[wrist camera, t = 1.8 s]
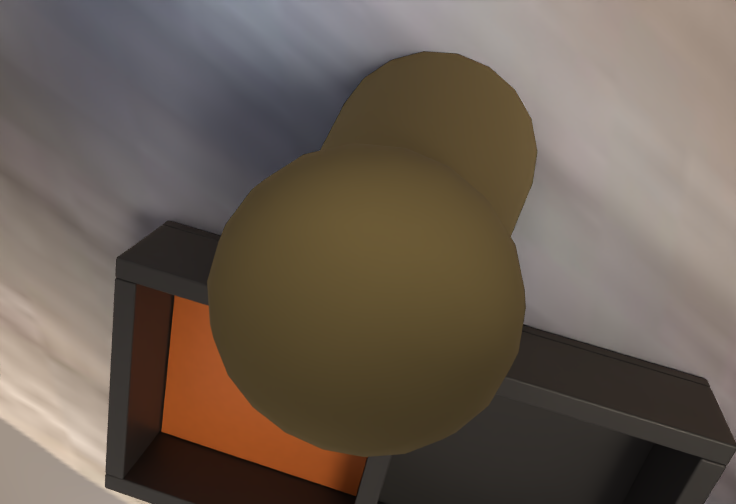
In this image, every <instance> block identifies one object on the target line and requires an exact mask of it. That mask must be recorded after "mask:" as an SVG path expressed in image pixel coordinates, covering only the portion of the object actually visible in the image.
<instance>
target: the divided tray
mask: <svg viewBox="0 0 736 504" xmlns="http://www.w3.org/2000/svg"><path fill="white" fill-rule="evenodd" d="M220 237H221V236H219V235H216V234H212V233H209V232H206V231H202V230H199V229H196V228H192V227H189V226H185V225H182V224H179V223H175V222H172V221H167V222H165V223H164V224H163V225H162V226H160V227H159V228H158V229H156V230H155V231H153V232H152V233H151V234H149V235H148V236H146V237H145V238H144V239H142V240H141V241H139V242H138V243H137V244H135V245H134V246H132V247H131V248H130V249H128V250H127V251H125V252H124V253H123V254H121V255H120V256H118V257H117V259H116V279H115V293H114V313H113V333H112V353H111V373H110V393H109V413H108V433H107V453H106V475H105V487H106V488H108V489H111V490H114V491H116V492H119V493H122V494H125V495H128V496H131V497H134V498H137V499H140V500H143V501H146V502H148V503H151V504H704V502H705V501H706V499H707V498H708V496H709V494H710V493H711V491H712V489H713V488H714V486H715V484H716V483H717V481H718V480H719V478H720V476H721V475H722V473H723V471H724V470H725V468H726V465H727V464H728V463H729V461H730V460H731V458H732V456H733V455H734V453H735V451H736V442H735V440H734V438H733V435H732V433H731V431H730V429H729V427H728V425H727V423H726V420H725V418H724V416H723V414H722V412H721V410H720V407H719V405H718V403H717V401H716V399H715V397H714V394H713V392H712V390H711V388H710V385H709V383H708V381H707V380H706V379H703V378H699V377H696V376H692V375H689V374H686V373H682V372H679V371H676V370H672V369H669V368H665V367H662V366H659V365H655V364H652V363H648V362H645V361H642V360H638V359H635V358H632V357H628V356H625V355H621V354H618V353H615V352H611V351H608V350H605V349H601V348H598V347H594V346H591V345H588V344H584V343H581V342H577V341H574V340H571V339H567V338H564V337H561V336H557V335H554V334H550V333H547V332H544V331H540V330H537V329H534V328H530V327H527V326H523V327H522V334H521V340H520V346H519V352H518V354H517V356H516V358H515V360H514V362H513V364H512V366H511V368H510V370H509V371H508V373H507V375H506V377H505V378H504V380H503V382H502V384H501V385H500V387H499V389H498V390H497V392H496V394H495V396H494V397H493V399H492V401H491V402H490V404H489V406H488V407H486V408H485V409H484V410H483V411H482V412H480V413H479V414H478V415H477V416H475V417H474V418H473V419H472V420H471V421H469V422H468V423H467V424H466V425H464V426H463V427H462V428H461V429H460V430H458V431H457V432H456V433H454V434H452V435H450V436H448V437H446V438H444V439H442V440H440V441H437V442H435V443H432V444H429V445H427V446H424V447H421V448H419V449H416V450H414V451H411V452H408V453H406V454H397V455H385V456H372V457H361V456H355V455H350V454H344V453H339V452H333V451H328V450H323V449H321V448H318V447H316V446H314V445H312V444H309V443H307V442H305V441H303V440H301V439H298V438H296V437H294V436H292V435H289V434H287V433H285V432H284V431H283V430H281V429H280V428H279V427H277V426H276V425H275V424H274V423H272V422H271V421H270V420H268V419H267V418H266V417H265V416H263V415H262V414H261V413H259V412H258V411H257V410H256V409H254V408H253V407H252V406H251V404H250V403H249V402H248V401H247V399H246V398H245V397H244V395H243V394H242V393H241V391H240V390H239V389H238V388H237V386H236V385H235V384H234V382H233V381H232V380H231V378H230V377H229V376H228V374H227V372H226V369H225V367H224V364H223V362H222V359H221V357H220V354H219V351H218V349H217V346H216V344H215V341H214V339H213V335H212V331H211V326H210V318H209V303H208V288H207V280H208V277H209V273H210V270H211V266H212V263H213V259H214V256H215V252H216V249H217V245H218V242H219V239H220Z"/></svg>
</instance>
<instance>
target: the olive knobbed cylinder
mask: <svg viewBox="0 0 736 504" xmlns="http://www.w3.org/2000/svg"><path fill="white" fill-rule="evenodd" d="M536 157H537V147H536V141H535V136H534V131H533V125H532V120H531V117H530V116H529V114H528V112H527V110H526V109H525V107H524V105H523V103H522V102H521V100H520V98H519V96H518V94H517V93H516V91H515V89H513V88H512V87H511V86H510V85H509V84H508V83H507V82H506V81H504V80H503V79H502V78H501V77H500V76H499V75H498V74H496V73H495V72H494V71H493V70H492V69H491V68H490V67H488V66H485V65H483V64H481V63H478V62H476V61H473V60H471V59H469V58H466V57H464V56H462V55H459V54H453V53H438V52H420V53H416V54H412V55H408V56H405V57H401V58H397V59H393V60H391V61H389V62H388V63H386V64H385V65H383V66H381V67H380V68H378V69H377V70H375V71H374V72H372V73H371V74H369V75H368V76H366V77H365V78H364V79H363V80H362V81H361V83H360V84H359V85H358V86H357V88H356V89H355V90H354V92H353V93H352V94H351V96H350V97H349V98H348V99H347V101H346V102H345V103H344V105H343V107H342V109H341V111H340V113H339V115H338V117H337V119H336V121H335V123H334V124H333V126H332V128H331V130H330V132H329V134H328V136H327V138H326V140H325V142H324V144H323V146H322V148H321V150H320V151H316V152H312V153H308V154H304V155H302V156H300V157H299V158H297V159H296V160H294V161H293V162H291V163H290V164H288V165H286V166H285V167H283V168H282V169H280V170H279V171H277V172H275V173H274V174H272V175H271V176H269V177H268V178H266V179H265V180H263V181H262V182H261V183H259V184H258V185H257V186H255V187H254V188H253V189H252V190H251V191H250V193H249V194H248V195H247V197H246V198H245V199H244V201H243V202H242V203H241V205H240V206H239V207H238V209H237V210H236V211H235V213H234V214H233V215H232V217H231V218H230V219H229V221H228V222H227V223H226V225H225V227H224V230H223V232H222V234H221V237H220V239H219V242H218V245H217V249H216V252H215V256H214V259H213V263H212V266H211V270H210V273H209V277H208V280H207V288H208V303H209V318H210V326H211V331H212V335H213V339H214V341H215V344H216V346H217V349H218V351H219V354H220V357H221V359H222V362H223V364H224V367H225V369H226V372H227V374H228V376H229V377H230V378H231V380H232V381H233V382H234V384H235V385H236V386H237V388H238V389H239V390H240V391H241V393H242V394H243V395H244V397H245V398H246V399H247V401H248V402H249V403H250V404H251V406H252V407H253V408H254V409H256V410H257V411H258V412H259V413H261V414H262V415H263V416H265V417H266V418H267V419H268V420H270V421H271V422H272V423H274V424H275V425H276V426H277V427H279V428H280V429H281V430H283V431H284V432H285V433H287V434H289V435H292V436H294V437H296V438H298V439H301V440H303V441H305V442H307V443H309V444H312V445H314V446H316V447H318V448H321V449H323V450H328V451H333V452H339V453H344V454H350V455H355V456H361V457H372V456H385V455H397V454H406V453H408V452H411V451H414V450H416V449H419V448H421V447H424V446H427V445H429V444H432V443H435V442H437V441H440V440H442V439H444V438H446V437H448V436H450V435H452V434H454V433H456V432H457V431H458V430H460V429H461V428H462V427H463V426H464V425H466V424H467V423H468V422H469V421H471V420H472V419H473V418H474V417H475V416H477V415H478V414H479V413H480V412H482V411H483V410H484V409H485V408H486V407H488V406H489V404H490V402H491V401H492V399H493V397H494V396H495V394H496V392H497V390H498V389H499V387H500V385H501V384H502V382H503V380H504V378H505V377H506V375H507V373H508V371H509V370H510V368H511V366H512V364H513V362H514V360H515V358H516V356H517V354H518V352H519V346H520V340H521V334H522V327H523V321H524V315H525V309H526V304H525V289H524V285H523V280H522V275H521V270H520V265H519V260H518V255H517V251H516V246H515V244H514V242H513V240H512V239H511V235H512V232H513V230H514V227H515V225H516V222H517V220H518V217H519V215H520V213H521V210H522V208H523V205H524V203H525V200H526V198H527V195H528V193H529V191H530V188H531V186H532V183H533V177H534V170H535V163H536Z"/></svg>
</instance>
